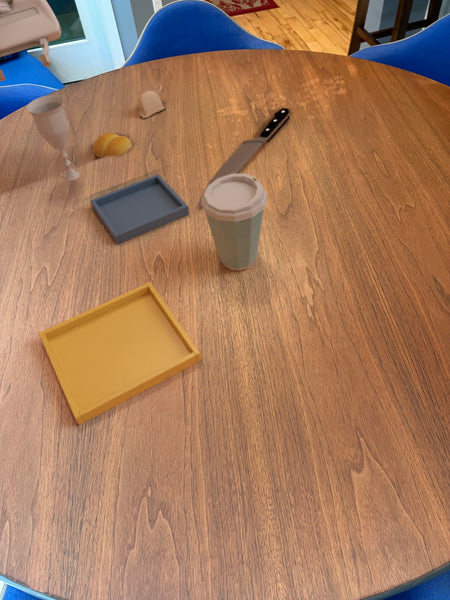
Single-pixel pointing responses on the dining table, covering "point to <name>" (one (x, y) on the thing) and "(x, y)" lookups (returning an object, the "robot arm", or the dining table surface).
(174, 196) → the slate tray
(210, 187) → the disposable coffee cup
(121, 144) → the bread roll
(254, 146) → the kitchen knife
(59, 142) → the chalice
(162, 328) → the mustard tray
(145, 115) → the decorative ornament
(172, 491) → the dining table surface
